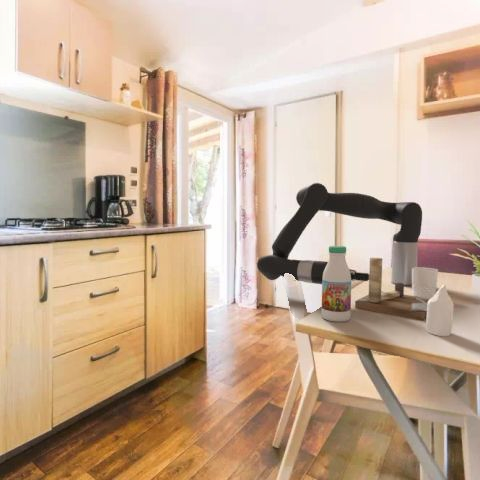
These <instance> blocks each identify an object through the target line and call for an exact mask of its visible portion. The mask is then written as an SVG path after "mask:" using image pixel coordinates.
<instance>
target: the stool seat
mask: <svg viewBox="0 0 480 480" xmlns="http://www.w3.org/2000/svg"><path fill="white" fill-rule="evenodd" d="M386 292H387V291H382V290H381V294H382V293H386ZM368 299H369V294H367V295H365V296H363V297H361V298H359V299H357V300H355V303H354V308H355V309H361V310H366V311H372V312H376V313H382V314H388V315H393V316H398V317H404V318H409V319H413V320H414V319H415V320H419V321H425V319H427V311H412V310H411V303H419V300H423V301H424V302H426V303H428V301H429V300H430V299H431V298H424V297H417V296H412V295H411V294H410V295H409V294H404V296H403V297H398V296H397V297H393V298H388V299H384V300H381V302H379V303H375V302H370V301H368Z"/></svg>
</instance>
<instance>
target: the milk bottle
mask: <svg viewBox="0 0 480 480" xmlns="http://www.w3.org/2000/svg"><path fill="white" fill-rule="evenodd" d="M328 255H329V257H328V260H327V262H328V263H327V265H326V267H325V269H324V272H323V279H322V284H321V310H320V311H321V318H323V319H324V320H327V321H329V322H335V323H337V322H339V323H342V322H348V321H349V320H350V319H351V310H352V309H351V306H352V280H351V274H350V270H349V269H350V267H349V266H348V262H347V260H346V256H347V246H343V245H330V246H329V247H328Z"/></svg>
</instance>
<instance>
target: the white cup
mask: <svg viewBox="0 0 480 480" xmlns="http://www.w3.org/2000/svg"><path fill="white" fill-rule="evenodd" d="M438 275H439V269H437V268H432V267H425V266H424V267H421V266H420V267H419V266H417V267H414V268H412V285H411V289H412V290H411V291H412V292H411V293H412V295H411V296H417V297H424V298H432V297H433V296H434V295H435V294H436V292H437V285H438V284H437V283H438Z"/></svg>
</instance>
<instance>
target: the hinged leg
mask: <svg viewBox="0 0 480 480" xmlns="http://www.w3.org/2000/svg"><path fill="white" fill-rule="evenodd" d="M368 274H369V280H368V283H369V284H368V295H369V299H368V301H370V302H375V303H379V302H381V300H384V299H388V298H393V297H397V296H398V297H403V296H404V295H405V294H404V293H405V290H404V289H405V285H404V283H395V284H394V290H392V291H391V290H390V291H385V292H386V293H382V294H381V291H382V283H383V282H382V279H383V258H381V257H369V272H368Z"/></svg>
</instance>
